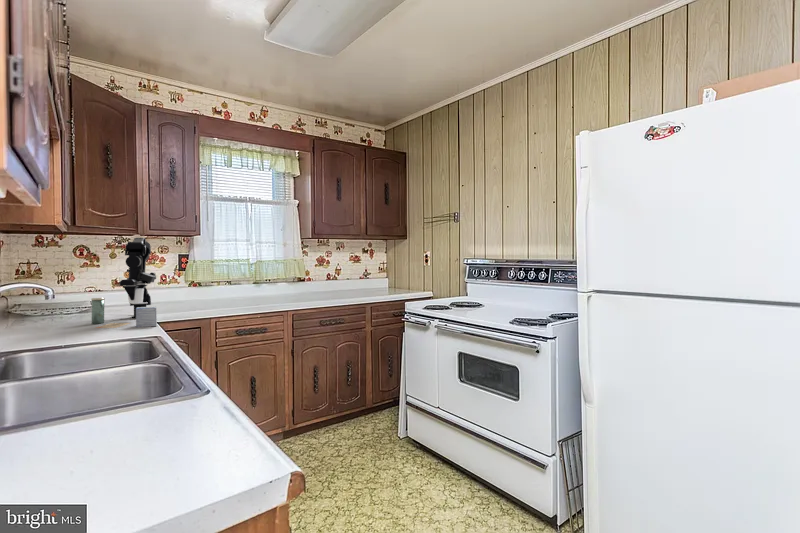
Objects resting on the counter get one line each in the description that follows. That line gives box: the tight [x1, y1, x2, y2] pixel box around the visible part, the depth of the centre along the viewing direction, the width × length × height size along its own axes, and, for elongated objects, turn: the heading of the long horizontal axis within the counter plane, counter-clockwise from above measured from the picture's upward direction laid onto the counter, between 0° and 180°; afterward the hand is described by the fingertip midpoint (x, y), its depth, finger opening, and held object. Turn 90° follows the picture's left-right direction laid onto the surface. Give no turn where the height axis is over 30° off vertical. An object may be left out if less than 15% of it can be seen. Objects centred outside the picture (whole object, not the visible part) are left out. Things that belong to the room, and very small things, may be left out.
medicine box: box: [135, 306, 158, 328], centre depth 191 cm, size 8×4×9 cm, turn 118°
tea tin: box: [91, 297, 106, 325], centre depth 197 cm, size 5×5×12 cm
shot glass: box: [127, 288, 144, 305], centre depth 207 cm, size 7×7×7 cm
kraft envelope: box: [95, 322, 131, 329], centre depth 192 cm, size 14×9×1 cm, turn 8°
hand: (135, 299), depth 207 cm, fingers closed on shot glass, 6 cm apart
